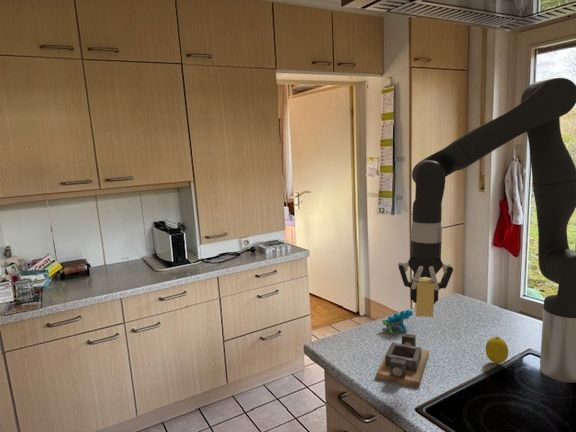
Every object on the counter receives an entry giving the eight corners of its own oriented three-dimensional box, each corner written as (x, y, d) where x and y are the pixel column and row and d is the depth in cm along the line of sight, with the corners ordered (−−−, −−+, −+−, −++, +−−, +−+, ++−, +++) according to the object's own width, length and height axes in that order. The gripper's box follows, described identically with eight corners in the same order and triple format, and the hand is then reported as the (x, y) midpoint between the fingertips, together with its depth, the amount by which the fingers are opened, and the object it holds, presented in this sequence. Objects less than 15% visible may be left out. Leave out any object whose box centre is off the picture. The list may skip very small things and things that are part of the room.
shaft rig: (428, 355, 117) (429, 336, 116) (419, 387, 102) (419, 366, 101) (390, 348, 122) (390, 330, 121) (376, 378, 107) (376, 357, 106)
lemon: (508, 370, 107) (509, 343, 106) (485, 366, 110) (486, 339, 108) (506, 360, 112) (508, 334, 111) (485, 357, 115) (485, 331, 113)
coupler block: (430, 310, 107) (432, 278, 106) (433, 317, 103) (434, 283, 102) (414, 309, 108) (415, 277, 107) (416, 316, 104) (417, 282, 103)
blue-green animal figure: (406, 316, 141) (414, 305, 132) (414, 332, 137) (423, 322, 129) (377, 325, 138) (384, 314, 130) (385, 341, 135) (392, 331, 127)
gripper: (398, 241, 101) (396, 306, 103) (458, 242, 98) (455, 309, 100) (396, 235, 108) (395, 295, 111) (452, 236, 105) (450, 298, 108)
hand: (423, 301), depth 105 cm, fingers closed on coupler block, 4 cm apart
